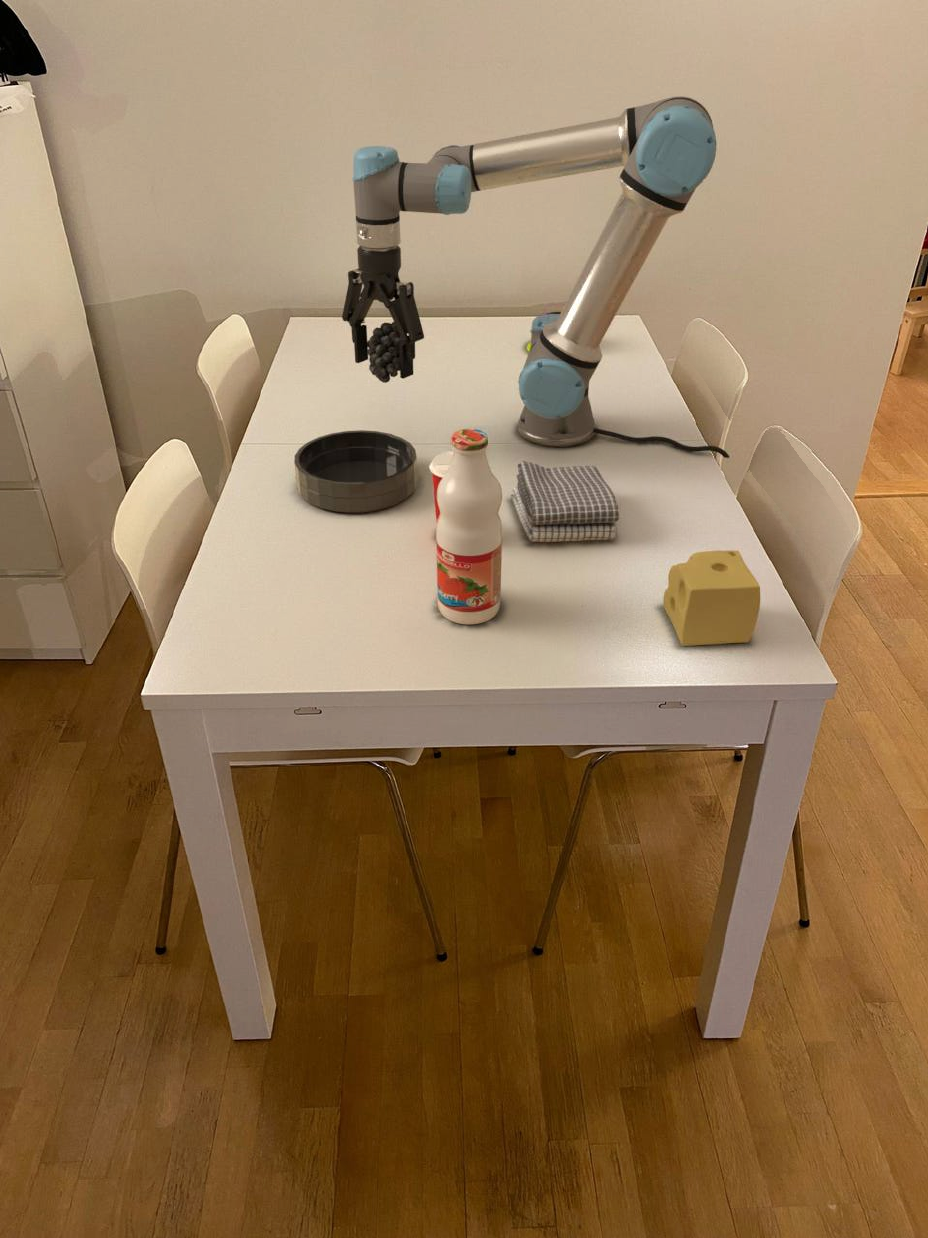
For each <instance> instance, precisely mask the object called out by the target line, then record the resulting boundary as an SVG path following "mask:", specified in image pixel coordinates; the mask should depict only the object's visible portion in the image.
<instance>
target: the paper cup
mask: <svg viewBox="0 0 928 1238" xmlns="http://www.w3.org/2000/svg"><path fill="white" fill-rule="evenodd" d="M453 453H454V450H451V451H450V450H449V451H445V452H440V453H439V454H437V455H435V456H434V458H433V459H432V460H431V463H430V464H429V466H428V468H429V470H430V472H431V475H432V486H433V498H434V509H435V510H434V511H435V521H436V524H437V521H438V518H439V516H440V509H439V506H438V503H437V488H438V485H439V483H440V481H441V480H442V478H443V477H444V475H445V474H446V472H447V470H448V468H449V465H450V462H451V459H452V456H453Z"/></svg>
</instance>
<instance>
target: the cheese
mask: <svg viewBox="0 0 928 1238" xmlns="http://www.w3.org/2000/svg"><path fill="white" fill-rule="evenodd" d="M667 580H668V587H667V588H666V589H665V590H664V593H663V597H662V598H663V600H662V601H663V609H664V612H665V613H666V614H667V616H668V618H669V620H670V622H671V624H672V626H673V629H674V631H675V633H676V636H677V638H678V641H679V643H680V646H681V647H691V646H707V645H725V644H737V643H739V644H741V643H749V642H750V640H751V638H752V635H753V633H754V631H755V627H756V625H757V621H758V617H759V612H760V607H761V586H760V584H759V582H758V581H757V579H756V577H755V576H754V575H753V573H752V571H751V570H750V569H749V567H748V566H747V564H746V563H745V560H744V558H743V557H742V554H741V553H740V551H739V550H732V549H731V550H708V551H707V550H705V551H698V552H694V553H692V554H691V555H690V556H689V557H688V560H686V562H680V563H677V564H675V565H672V566H671V567H670V568H669V571H668V578H667Z"/></svg>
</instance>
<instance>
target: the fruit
mask: <svg viewBox="0 0 928 1238" xmlns="http://www.w3.org/2000/svg"><path fill="white" fill-rule="evenodd" d="M400 342H402V338H401V336H400V334H399V332H398V329H397V327H396V325H395V323H394V321H392V323H390V322H383V323H381V324H380V327H378V326H377V327H375V328H373V330H372V335H371V336H370V337H369V339H368V340H367V347H368V351H367V353H368V361H369V366H368V370H369V371H370V373H371V374H372V376H375V378H377V379H378V381H379V382H381V383H384V384H386V383H389V382H390V380H391V378H396V377H397V376H398V375H399V372H400V352H399V343H400Z"/></svg>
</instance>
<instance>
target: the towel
mask: <svg viewBox="0 0 928 1238" xmlns="http://www.w3.org/2000/svg"><path fill="white" fill-rule="evenodd" d="M517 468H518V473H517V475H516V479H517V484H516V485H517V486H515V487H513V488H512V492H511V494H510V498H511V502H512V503H513V506H514V508H515V511H516V514H517V517H518V520H519V521H520V524H521V527H522V528H523V530H524V532H525V535H526V538H527V539H528V540H529V542H531V543H533V542H534V543H535V542H537V543H550V542H551V543H555V542H557V543H558V542H559V543H560V542H580V541H583V542H584V541H585V542H586V541H606V540H615V539H616V538H617V535H616V532H617V527H618V526H617V525H616V523H617V522H618V521H619V520H620V513H619V506H618V503H617V500H616V496H615V494H614V492H613V490H612V489H611V487H610V486H609V485H608V483H607V482H606V481H605V480H604V478H603V477H602V474H601V473H600V471H599V470H598V468H597V466H596V465H584V466H582V465H577V466H576V465H573V466H559V467H551V468H550V467H544V466H542V465H541V466H540V465H538V464H537V463H533V462H530V461H529V462H528V461H525V460H521V461H520V462H519V463H518V464H517Z"/></svg>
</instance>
